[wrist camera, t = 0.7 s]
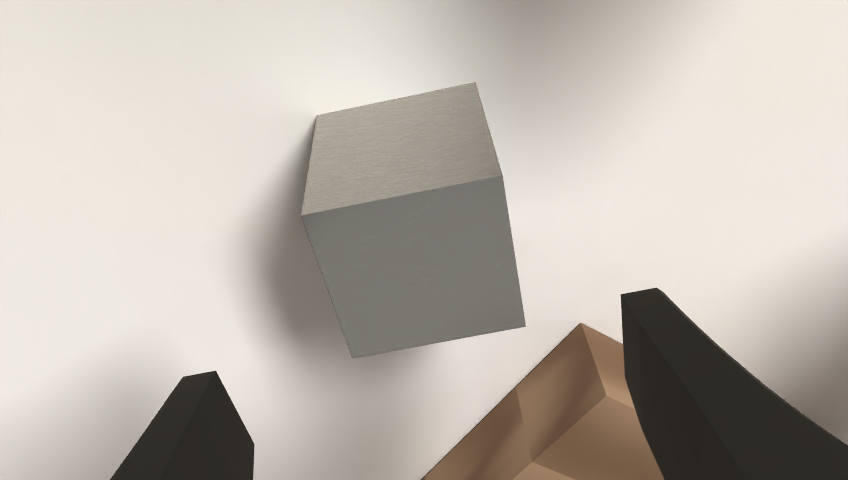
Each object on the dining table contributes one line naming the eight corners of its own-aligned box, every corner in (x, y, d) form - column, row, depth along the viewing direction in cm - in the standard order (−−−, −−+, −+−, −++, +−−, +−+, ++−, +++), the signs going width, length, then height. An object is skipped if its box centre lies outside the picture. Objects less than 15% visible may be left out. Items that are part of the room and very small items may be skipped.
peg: (475, 81, 17) (502, 174, 14) (497, 215, 20) (526, 326, 16) (317, 114, 18) (300, 215, 14) (357, 242, 20) (352, 358, 16)
